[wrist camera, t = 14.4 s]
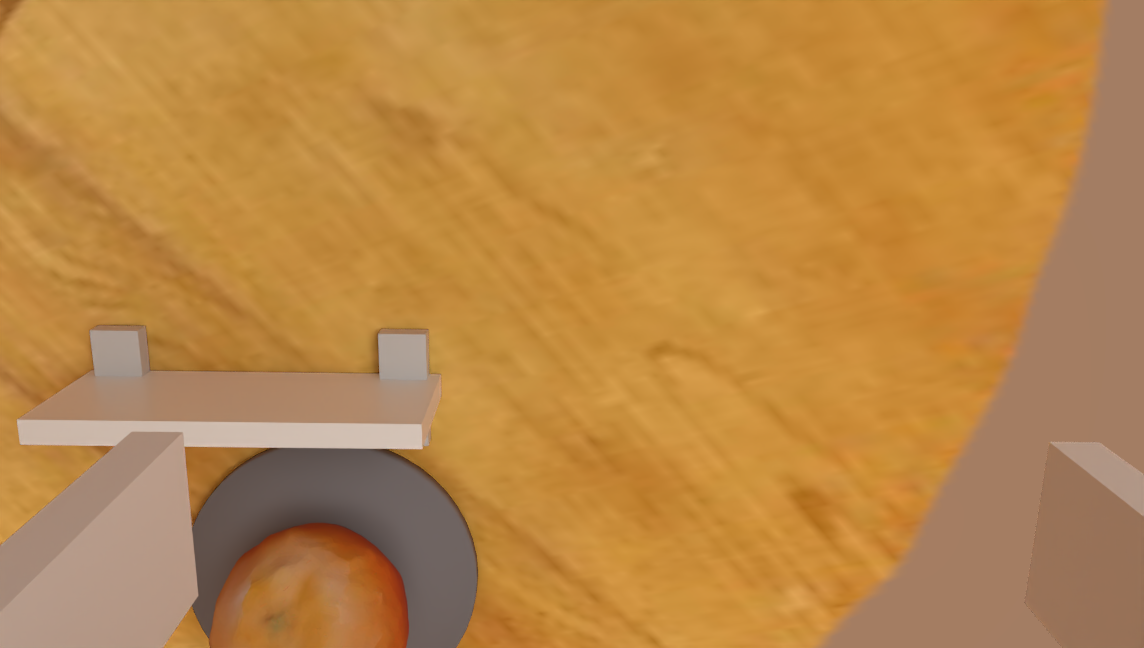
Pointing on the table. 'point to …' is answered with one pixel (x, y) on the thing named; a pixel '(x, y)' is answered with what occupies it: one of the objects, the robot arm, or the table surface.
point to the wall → (242, 401)
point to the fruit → (312, 594)
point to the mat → (358, 502)
